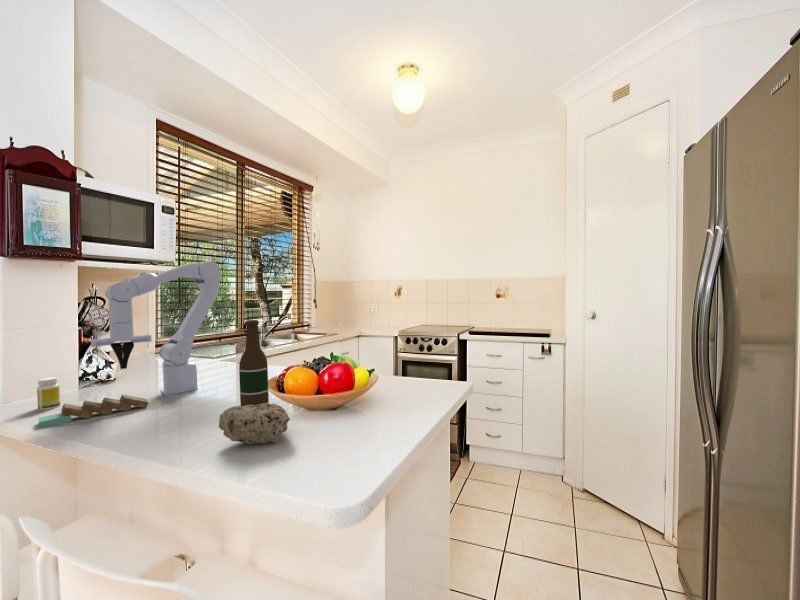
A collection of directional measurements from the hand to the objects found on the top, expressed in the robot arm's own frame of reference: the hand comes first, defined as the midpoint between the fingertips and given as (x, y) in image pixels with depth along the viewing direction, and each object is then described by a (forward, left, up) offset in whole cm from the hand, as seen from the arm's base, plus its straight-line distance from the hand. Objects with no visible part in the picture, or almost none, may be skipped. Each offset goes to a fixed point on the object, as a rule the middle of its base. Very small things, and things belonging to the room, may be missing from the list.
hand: (123, 368), depth 117 cm
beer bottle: (-26, +34, -10) cm, 44 cm away
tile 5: (+12, +11, -9) cm, 19 cm away
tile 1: (-4, +11, -9) cm, 15 cm away
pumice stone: (-17, +58, -10) cm, 61 cm away
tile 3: (+4, +11, -9) cm, 15 cm away
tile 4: (+8, +11, -9) cm, 17 cm away
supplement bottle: (+17, -8, -10) cm, 21 cm away
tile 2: (0, +11, -9) cm, 14 cm away
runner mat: (+3, +11, -10) cm, 15 cm away
